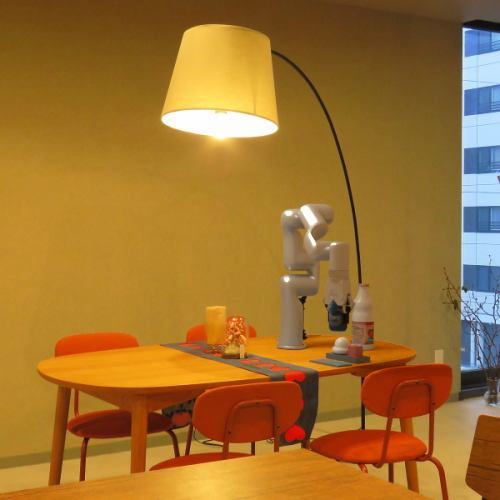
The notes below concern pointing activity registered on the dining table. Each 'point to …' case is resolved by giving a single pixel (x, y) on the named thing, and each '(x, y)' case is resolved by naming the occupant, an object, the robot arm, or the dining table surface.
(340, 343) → the dome
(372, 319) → the fruit juice
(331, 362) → the board
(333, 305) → the soda can
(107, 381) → the dining table surface
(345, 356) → the game base
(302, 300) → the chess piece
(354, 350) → the red die
